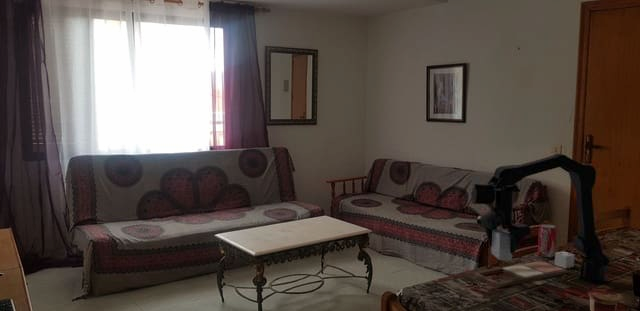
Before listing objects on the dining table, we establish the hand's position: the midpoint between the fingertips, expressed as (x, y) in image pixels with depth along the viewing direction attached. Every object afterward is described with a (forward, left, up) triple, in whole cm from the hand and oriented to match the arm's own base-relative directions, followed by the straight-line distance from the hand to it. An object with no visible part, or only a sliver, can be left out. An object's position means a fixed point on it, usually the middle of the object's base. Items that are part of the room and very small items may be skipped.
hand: (501, 249), depth 164 cm
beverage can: (+11, -36, -10) cm, 39 cm away
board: (0, -9, -10) cm, 14 cm away
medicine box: (0, 0, -3) cm, 3 cm away
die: (0, -32, -10) cm, 33 cm away
